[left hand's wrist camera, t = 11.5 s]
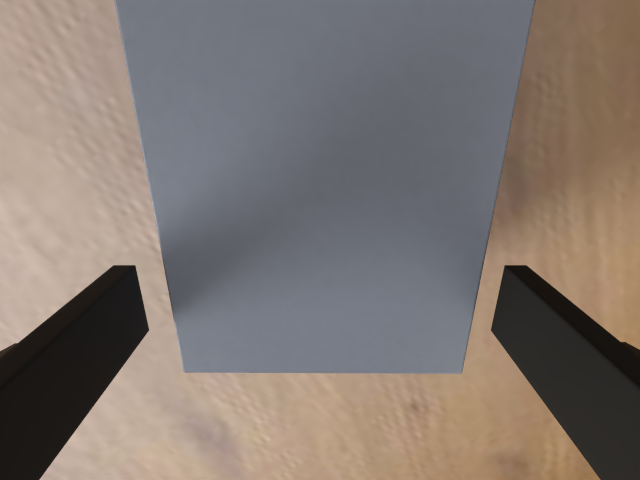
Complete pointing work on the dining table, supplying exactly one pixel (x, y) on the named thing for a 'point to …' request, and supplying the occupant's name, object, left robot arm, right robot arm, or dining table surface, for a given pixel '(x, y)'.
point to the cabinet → (324, 173)
